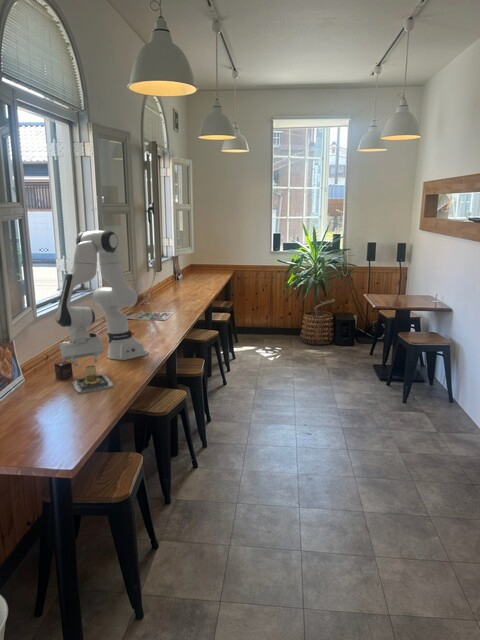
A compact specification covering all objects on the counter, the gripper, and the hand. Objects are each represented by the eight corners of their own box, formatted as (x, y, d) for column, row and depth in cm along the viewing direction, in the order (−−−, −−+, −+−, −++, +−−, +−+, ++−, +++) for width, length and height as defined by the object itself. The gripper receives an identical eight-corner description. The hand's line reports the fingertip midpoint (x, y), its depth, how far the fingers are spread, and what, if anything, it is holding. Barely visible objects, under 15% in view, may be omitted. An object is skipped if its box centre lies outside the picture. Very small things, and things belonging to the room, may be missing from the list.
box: (66, 373, 244) (65, 360, 243) (73, 376, 241) (71, 362, 239) (55, 377, 240) (53, 363, 238) (62, 379, 236) (60, 365, 234)
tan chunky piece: (99, 379, 232) (98, 363, 230) (103, 384, 225) (102, 367, 223) (80, 382, 228) (79, 366, 226) (84, 387, 221) (82, 371, 219)
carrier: (105, 377, 237) (105, 372, 237) (113, 387, 224) (113, 382, 223) (72, 383, 230) (71, 379, 230) (78, 394, 216) (77, 389, 216)
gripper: (58, 339, 235) (63, 364, 229) (101, 333, 244) (107, 356, 238) (58, 346, 240) (63, 370, 233) (99, 340, 249) (106, 363, 243)
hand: (86, 363), depth 236 cm, fingers open, 8 cm apart
